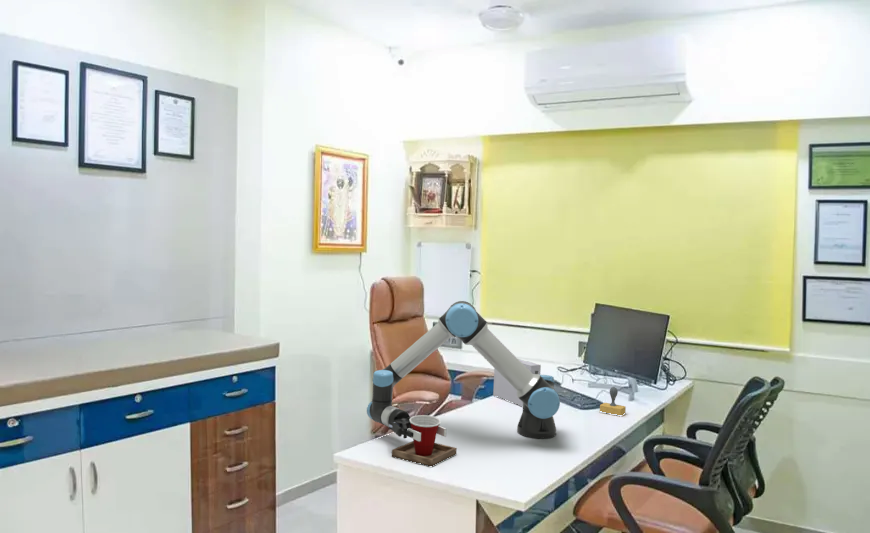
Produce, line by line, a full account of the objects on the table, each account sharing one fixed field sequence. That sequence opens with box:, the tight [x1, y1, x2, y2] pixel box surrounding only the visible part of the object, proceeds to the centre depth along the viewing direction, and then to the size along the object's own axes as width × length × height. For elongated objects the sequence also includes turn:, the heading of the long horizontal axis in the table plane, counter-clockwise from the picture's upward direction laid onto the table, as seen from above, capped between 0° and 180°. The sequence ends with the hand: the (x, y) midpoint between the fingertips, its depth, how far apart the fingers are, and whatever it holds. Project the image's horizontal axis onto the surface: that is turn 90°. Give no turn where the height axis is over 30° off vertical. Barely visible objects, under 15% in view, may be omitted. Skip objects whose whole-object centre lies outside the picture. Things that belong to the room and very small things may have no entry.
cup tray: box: [391, 441, 458, 467], centre depth 227 cm, size 16×16×2 cm
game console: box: [492, 358, 542, 407], centre depth 308 cm, size 6×27×20 cm, turn 31°
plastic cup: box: [409, 414, 441, 456], centre depth 226 cm, size 11×11×12 cm
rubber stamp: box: [599, 386, 627, 416], centre depth 294 cm, size 10×6×12 cm, turn 55°
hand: (432, 434), depth 223 cm, fingers open, 10 cm apart
